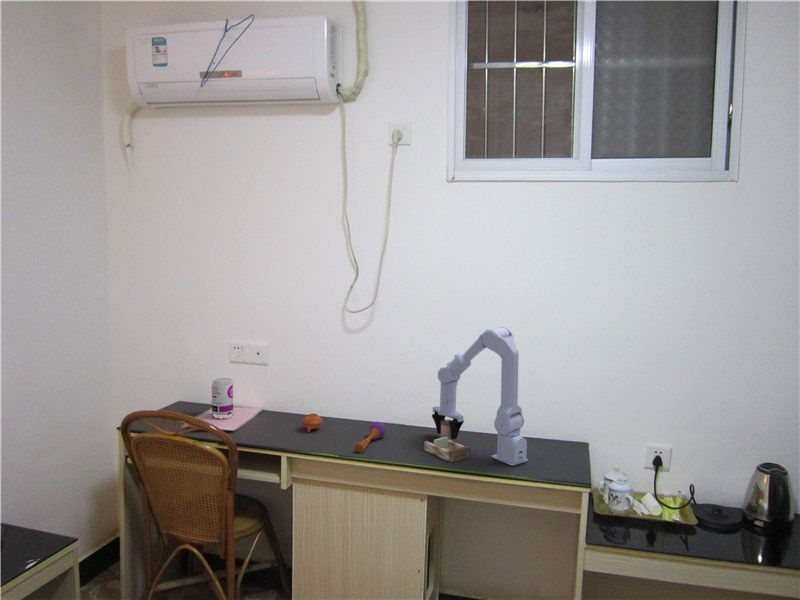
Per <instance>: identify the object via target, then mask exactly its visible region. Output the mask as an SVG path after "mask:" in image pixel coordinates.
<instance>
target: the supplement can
mask: <svg viewBox="0 0 800 600" xmlns="http://www.w3.org/2000/svg"><path fill="white" fill-rule="evenodd" d="M212 413H213V414H216V415H229V414H232V413H233V414H234V382H233V380H232V378H228V377H221V378H219V377H218V378H215V379H213V381H212V382H211V414H212Z"/></svg>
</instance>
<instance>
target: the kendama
mask: <svg viewBox="0 0 800 600" xmlns="http://www.w3.org/2000/svg"><path fill="white" fill-rule="evenodd" d="M386 432H387V428H386V425H385V424H384V422H381V421H374V422H373V423H371V425H370V427H369V431H368V435H369V436H367V437H366V438H364V439H363V440H361V441H360V442H358V443H357V444H355V446H354V450H355V452H356V453H357V452H361V453H360V454H363V453H364V452H365V451H366V450H365V449H366V448H367V447H368V445H369V444H370V442H371V441H372V440H377V439H382V438H383V437H384V436H385V434H386Z"/></svg>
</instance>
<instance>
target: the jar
mask: <svg viewBox="0 0 800 600" xmlns="http://www.w3.org/2000/svg"><path fill="white" fill-rule="evenodd" d="M450 420H451V419H445V420H441V433H440V438H441V437H448V439H449V440H451V441H453V442H454V440H452V439H451V428H450V424H449V421H450Z"/></svg>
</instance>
